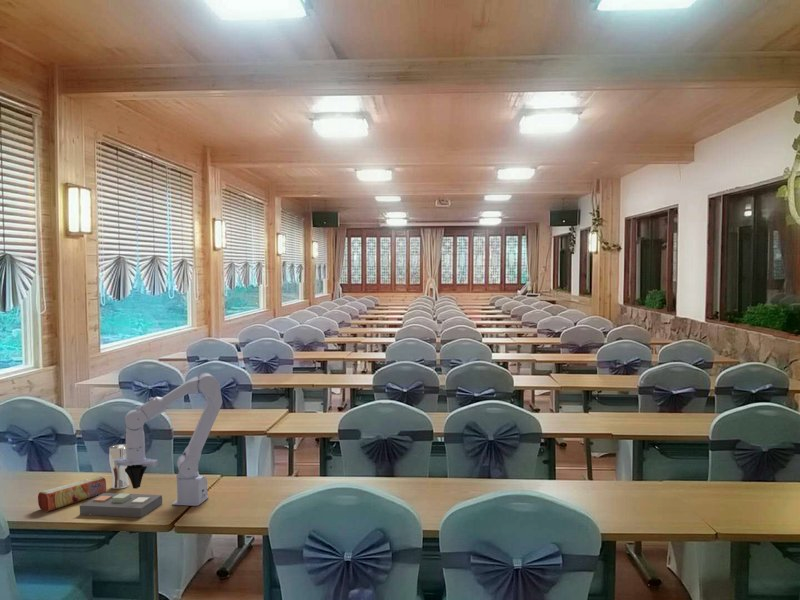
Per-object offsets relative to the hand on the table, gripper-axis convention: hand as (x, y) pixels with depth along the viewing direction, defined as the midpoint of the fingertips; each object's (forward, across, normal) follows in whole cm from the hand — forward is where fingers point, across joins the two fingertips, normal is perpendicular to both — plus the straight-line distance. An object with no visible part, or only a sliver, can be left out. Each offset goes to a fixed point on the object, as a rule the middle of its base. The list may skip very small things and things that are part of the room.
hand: (136, 487), depth 198 cm
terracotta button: (+7, -13, 0) cm, 15 cm away
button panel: (+8, -6, 0) cm, 9 cm away
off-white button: (+7, +1, 0) cm, 7 cm away
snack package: (+8, -28, +6) cm, 29 cm away
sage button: (+6, -6, 0) cm, 8 cm away
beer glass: (+8, -20, +21) cm, 31 cm away
